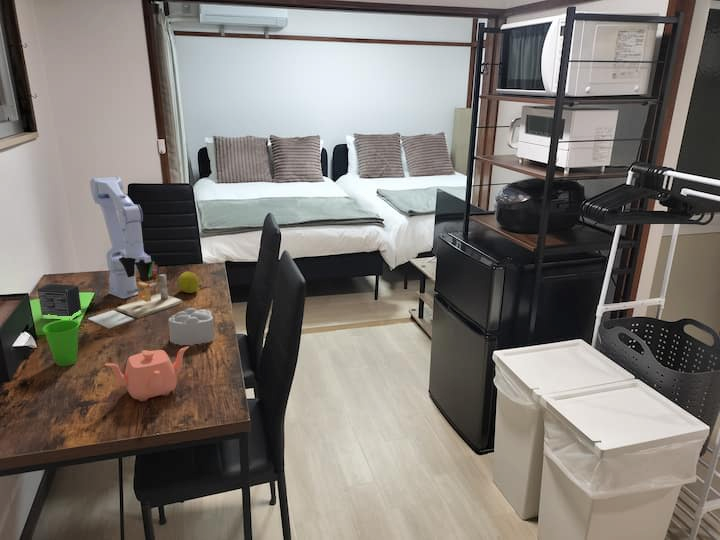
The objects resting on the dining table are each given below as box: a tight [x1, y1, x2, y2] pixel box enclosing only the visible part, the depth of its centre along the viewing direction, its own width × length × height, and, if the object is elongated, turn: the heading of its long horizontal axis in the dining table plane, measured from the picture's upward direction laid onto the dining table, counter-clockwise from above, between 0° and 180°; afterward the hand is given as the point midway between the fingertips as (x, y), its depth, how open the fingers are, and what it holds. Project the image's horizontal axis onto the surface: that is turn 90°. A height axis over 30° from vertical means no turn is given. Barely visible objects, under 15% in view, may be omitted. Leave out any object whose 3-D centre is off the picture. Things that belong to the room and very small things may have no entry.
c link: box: [136, 281, 152, 302], centre depth 182 cm, size 5×2×6 cm, turn 56°
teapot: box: [104, 346, 190, 402], centre depth 132 cm, size 14×14×11 cm
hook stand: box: [116, 274, 183, 319], centre depth 184 cm, size 12×18×10 cm, turn 146°
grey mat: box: [87, 309, 135, 329], centre depth 174 cm, size 12×9×1 cm
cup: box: [41, 319, 81, 367], centre depth 144 cm, size 9×9×11 cm
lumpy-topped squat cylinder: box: [167, 307, 215, 346], centre depth 162 cm, size 10×13×9 cm
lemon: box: [177, 271, 200, 294], centre depth 199 cm, size 11×8×8 cm
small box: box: [37, 283, 82, 316], centre depth 174 cm, size 11×6×10 cm, turn 84°
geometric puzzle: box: [148, 261, 159, 279], centre depth 215 cm, size 7×7×8 cm
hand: (137, 278), depth 182 cm, fingers open, 7 cm apart
